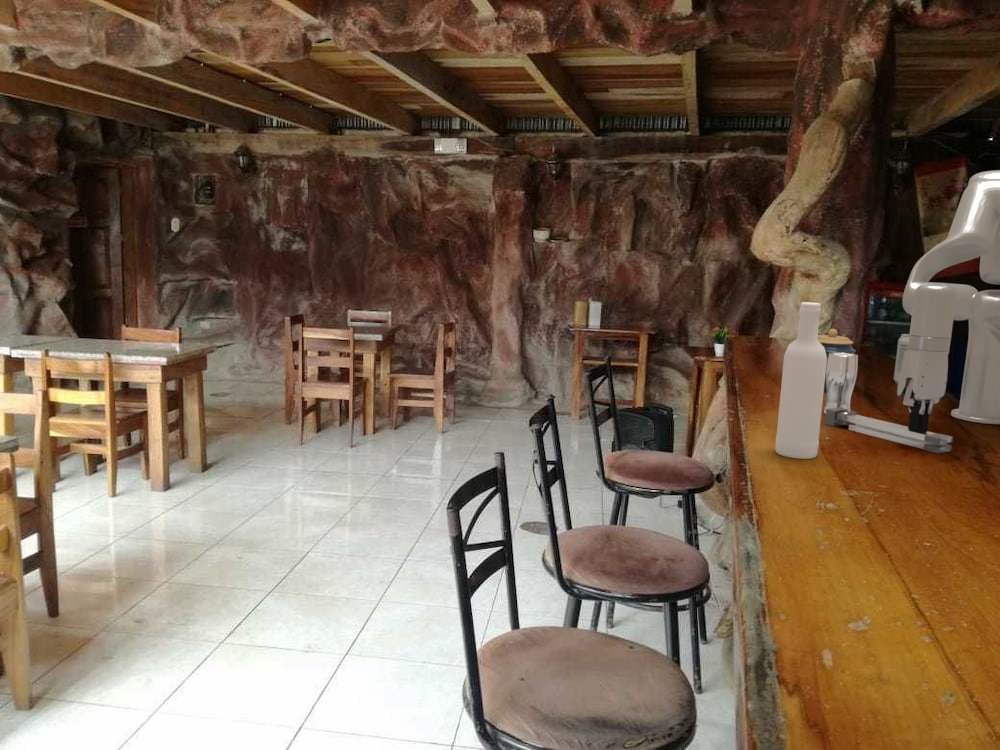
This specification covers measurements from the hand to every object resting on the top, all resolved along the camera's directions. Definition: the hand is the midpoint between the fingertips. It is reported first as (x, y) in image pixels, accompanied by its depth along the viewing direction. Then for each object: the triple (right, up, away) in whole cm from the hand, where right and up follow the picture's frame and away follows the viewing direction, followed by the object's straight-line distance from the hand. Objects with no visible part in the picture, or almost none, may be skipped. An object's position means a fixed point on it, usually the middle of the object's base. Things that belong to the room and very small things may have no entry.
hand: (917, 431), depth 161 cm
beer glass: (-4, +2, +29) cm, 29 cm away
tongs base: (-3, -2, +7) cm, 8 cm away
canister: (+8, +8, +63) cm, 63 cm away
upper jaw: (-3, -1, +6) cm, 6 cm away
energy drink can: (+37, +9, +76) cm, 85 cm away
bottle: (-29, -4, -8) cm, 30 cm away
